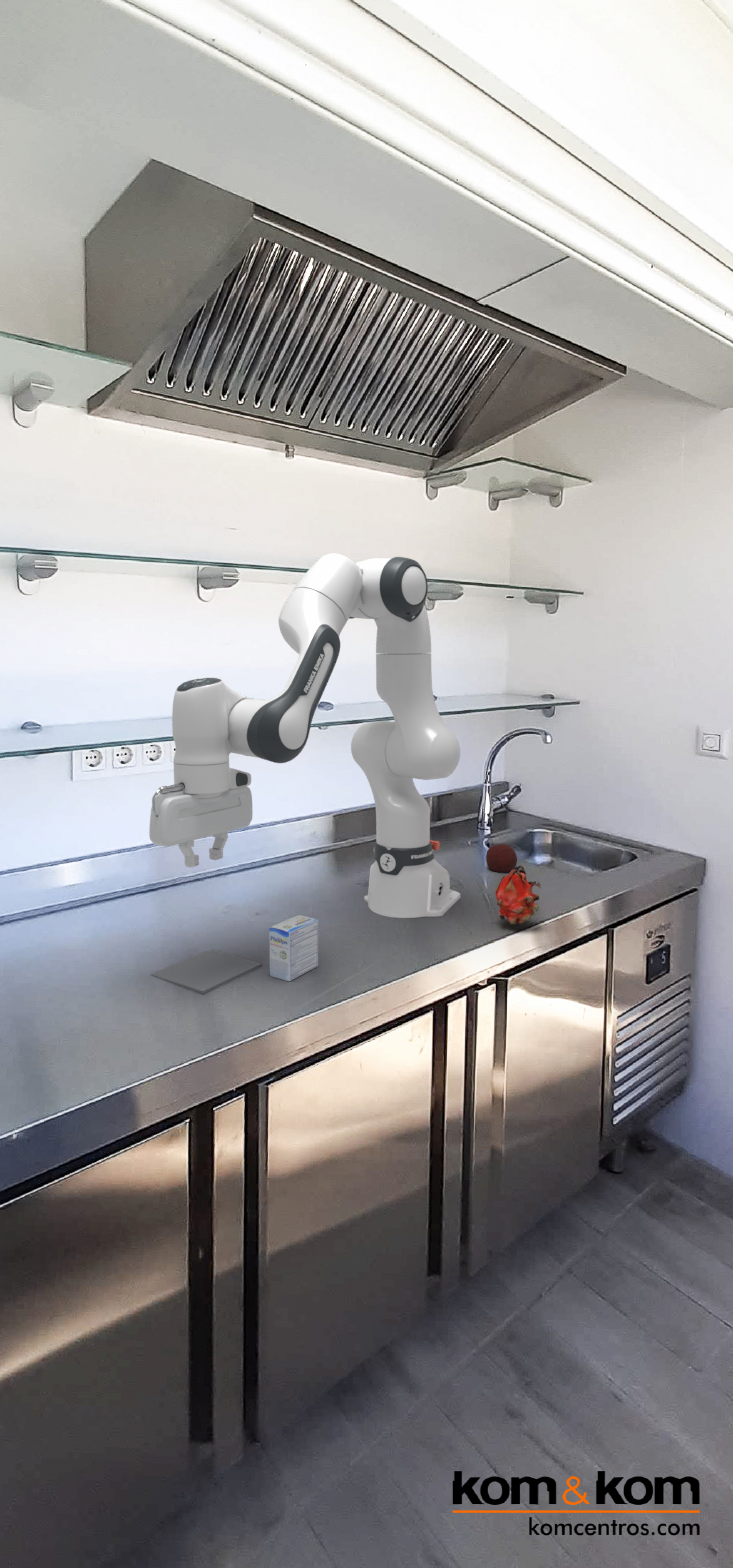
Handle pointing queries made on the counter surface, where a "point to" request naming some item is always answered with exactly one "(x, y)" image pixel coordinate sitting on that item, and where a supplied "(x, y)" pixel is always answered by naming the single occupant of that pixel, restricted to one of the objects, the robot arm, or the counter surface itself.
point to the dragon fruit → (516, 897)
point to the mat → (207, 971)
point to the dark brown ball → (501, 858)
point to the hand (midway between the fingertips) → (204, 862)
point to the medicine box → (293, 947)
